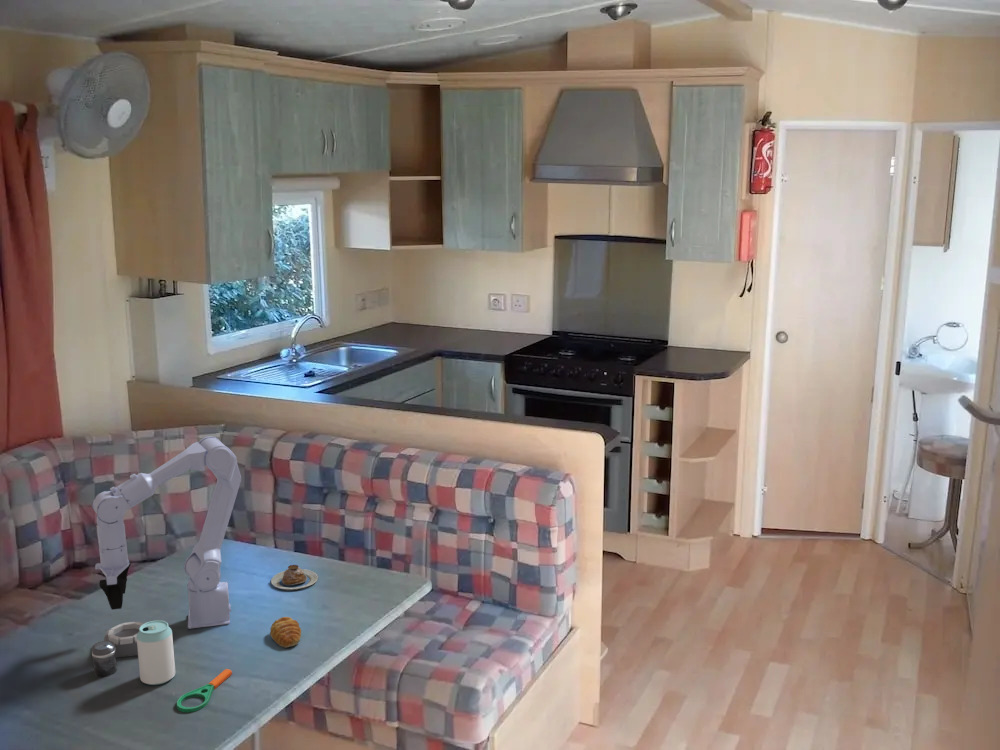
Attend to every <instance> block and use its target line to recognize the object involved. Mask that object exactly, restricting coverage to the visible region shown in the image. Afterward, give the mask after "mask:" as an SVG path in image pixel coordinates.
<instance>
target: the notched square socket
mask: <svg viewBox="0 0 1000 750" xmlns="http://www.w3.org/2000/svg"><path fill="white" fill-rule="evenodd" d="M143 624H144V622H140V621H129V622H122V623H119V624H117V625H115V626H114V627H111V628H110V629H106V630H105V634H104V638H103V641H112V642H114V644H115V649H116V653H115V654H116V659H117V658H122V657H123V658H125V657H131V656H138V648H137V634H138V632H139V628H140V626H141V625H143Z"/></svg>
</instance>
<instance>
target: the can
mask: <svg viewBox="0 0 1000 750" xmlns="http://www.w3.org/2000/svg"><path fill="white" fill-rule="evenodd" d="M173 637H174V636H173V630H172V628H171V627H170V626H169V623H168V622H167V621H165V620H151V621H147V622H145V623H143V625H141V626H140V628H139V632H138V634H137V648H138V655H137V659H138V668H139V680H140V681H141V682H142V683H144V684H146V685H149V686H158V685H163V684H165V683H168V682H169V681H170V680H172V679H173V677H175V676H176V664H175V661H176V660H175V652H174V651H175V650H174V641H173Z"/></svg>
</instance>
